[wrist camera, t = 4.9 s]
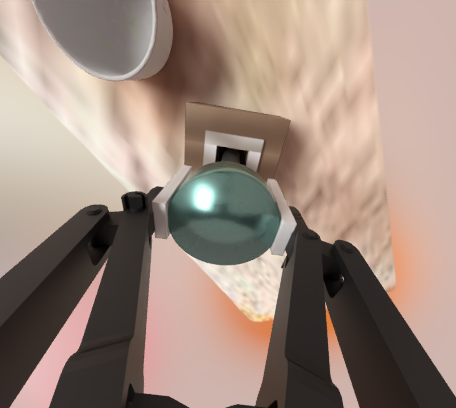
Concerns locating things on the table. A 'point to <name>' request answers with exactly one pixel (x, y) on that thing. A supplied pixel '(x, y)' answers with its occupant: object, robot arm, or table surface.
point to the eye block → (233, 136)
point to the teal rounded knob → (224, 213)
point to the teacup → (110, 35)
